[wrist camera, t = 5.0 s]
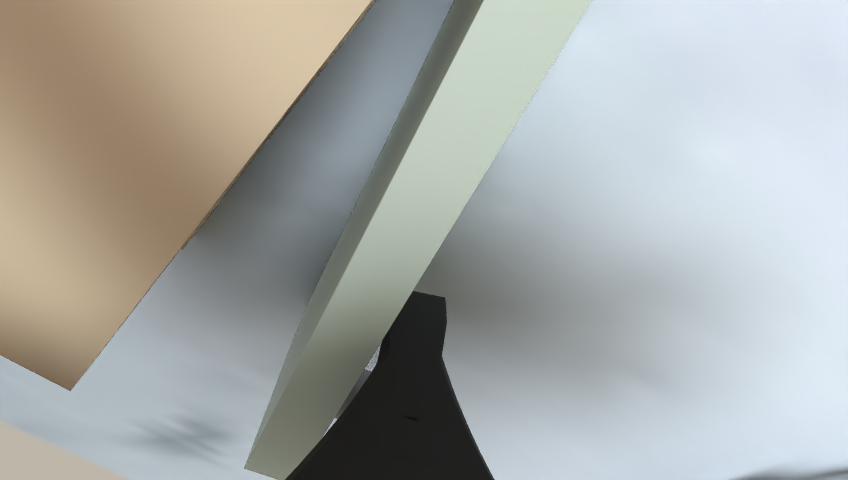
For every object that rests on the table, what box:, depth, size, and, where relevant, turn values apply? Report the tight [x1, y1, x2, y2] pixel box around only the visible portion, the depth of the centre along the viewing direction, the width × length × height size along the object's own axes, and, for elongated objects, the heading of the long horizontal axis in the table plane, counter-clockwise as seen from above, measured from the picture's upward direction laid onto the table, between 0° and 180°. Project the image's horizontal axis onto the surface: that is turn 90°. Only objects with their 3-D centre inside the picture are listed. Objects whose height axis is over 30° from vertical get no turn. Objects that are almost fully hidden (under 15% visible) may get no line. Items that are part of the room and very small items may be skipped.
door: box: [244, 0, 592, 480], centre depth 10 cm, size 10×2×5 cm, turn 154°
